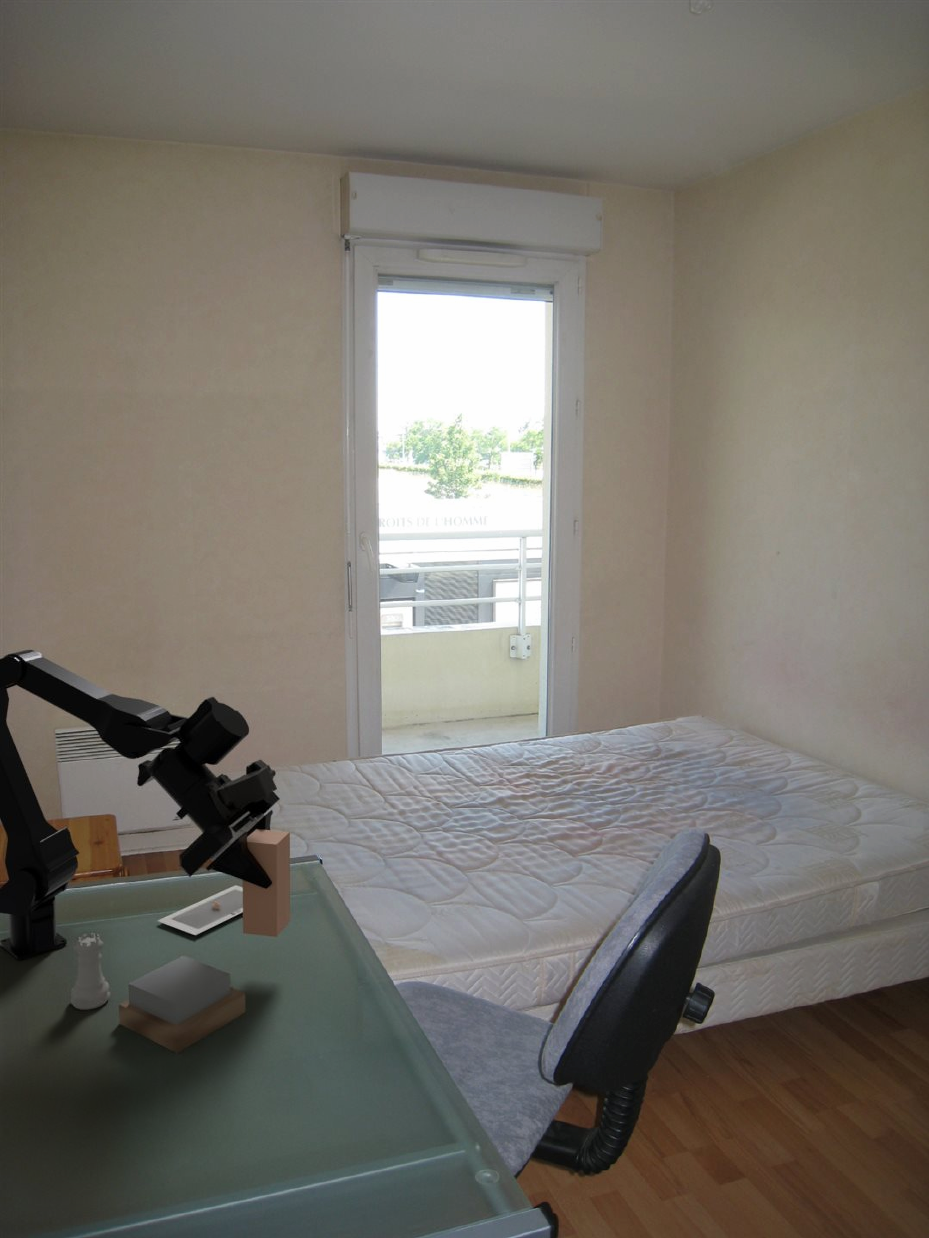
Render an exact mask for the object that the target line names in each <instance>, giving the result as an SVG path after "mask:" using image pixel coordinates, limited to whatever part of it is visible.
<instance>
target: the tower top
mask: <svg viewBox="0 0 929 1238" xmlns="http://www.w3.org/2000/svg"><path fill="white" fill-rule="evenodd" d="M230 987H231V973H229V972H225V971H223V970H222V969H219V968H216V967H213V966H211V965H208V964H205V963H203V962H200V961H197V960H195V959H193V958H191V957H189V956H186V955H181V956H180V957H177V958H176V959H174V960H172V961H170V962H168V963H166V964H164V965H162V966H160V967H157V968H156V969H154V970H152V971H150V972H148V973H146V974H144V975H142V976H140V977H139V978H137V979H134V980H132V981H130V982H129V983H128V987H127V988H128V999H129V1004H130V1005H132V1006H134V1007H137V1008H139V1009H141V1010H143V1011H145V1012H148V1013H150V1014H152V1015H154V1016H156V1017H159V1018H161V1019H163V1020H165V1021H167V1022H169V1023H172V1024H174V1025H176V1026H177V1025H179V1024H180V1023H182V1022H184V1021H185V1020H187V1019H189V1018H191V1017H192V1016H194V1015H196V1014H197V1013H199V1012H201V1011H203V1010H204V1009H206V1008H208V1007H209V1006H211V1005H213V1004H215V1003H216V1002H218V1001H220V1000H221V999H223V998H225V997H226V996H228V995H230Z"/></svg>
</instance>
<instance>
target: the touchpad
mask: <svg viewBox="0 0 929 1238" xmlns="http://www.w3.org/2000/svg"><path fill="white" fill-rule="evenodd" d="M240 914H243V886H239V885H233V886H231V887H229V888H226V889H224V890H222V891H220V892H218V893H215V894H213V895H211V896H209V897H206V898H205V899H202V900H200V901H198V902H196V903H193V904H191V905H189V906H187V907H185V908H182V909H180V910H177V911H175V912H174V913H171V914H169V915H167V916H165V917H162V918H160V919H158V920H157V922H159V923H161V924H164V925H167V926H169V927H172V928H175V929H177V930H180V931H183V932H185V933H187V934H191V935H194V936H197V935H199V934H201V933H203V932H205V931H207V930H210V929H211V928H213V927H215V926H218V925H219V924H221V923H224V922H225V921H228V920H230V919H231V918H234V917H236V916H237V915H240Z"/></svg>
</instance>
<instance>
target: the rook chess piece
mask: <svg viewBox="0 0 929 1238" xmlns="http://www.w3.org/2000/svg"><path fill="white" fill-rule="evenodd" d="M89 935H90V936H89V937H88V934H86V933H85V934H83V935H82V936H81V937H80V936H78V938H77V939H76V940H77V941H76V944H74V947H73V950H74V951H75V952H76V953H77V955H78V957H77V958H76V962H77V964H78V970H77V976H76V981H75V982H74V986H72V989H71V991H70V996H71V998H70V1004H71V1005H72V1006H73V1007H74V1008H75V1009H77V1010H80V1011H85V1010H86V1011H90V1010H95V1009H98V1008H100V1007H101V1006H104V1005H105V1004H106V1002H108V1000H109V999H110V997H111V992H110V991H109V990H110V984H109V982H107V981H106V977H105V976H104V974H103V971H102V966H101V959H102V954H101V952H100V950H101V949H102V948H103V946H104V942H103V941H102V940H101V938H100V937H101V936H100V934H99V933H98V934H95V933H90V934H89Z"/></svg>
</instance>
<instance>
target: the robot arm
mask: <svg viewBox="0 0 929 1238" xmlns="http://www.w3.org/2000/svg"><path fill="white" fill-rule="evenodd" d="M15 686H17V687H20V688H21V689H23V690H24V691H26V692H27V693H28V692H29V693H30V694H32V695H34V696H36V697H37V698H40V699H42V700H44V701H45V702H47V703H49V704H51V705H52V706H55V707H57V708H59V709H60V710H62V711H64V712H66V713H68V714H70V715H72V716H74V717H75V718H77V719H79V720H81V721H83V722H84V723H86V724H88V725H89V726H90V727H92V728H93V729H94V730H95V731H96V732H97V734H98V736H99V738H100V739H101V741H102V742H104V743H105V744H106V745H107V746H108V747H109V748H111V749H113V750H114V751H115V752H117V753H118V754H119V755H120V756H122V757H123V758H126V759H129V760H136V759H139V758H143V757H145V756H147V755H149V754H151V753H153V752H155V751H157V750H160V749H161V748H163V749H162V750H161V751H160V752H159V753H158V754H157V755H156V756H154V758H153V759H152V760H149V759H147V760H145V761H142V762H140V763H139V764H138V765H137V768H138V776H137V781H136V785H137V786H138V787H142V786H144V785H146V784H148V783H149V782H151V781H153V780H155V781H156V782H157V784H158V785H159V786H160V787H161V788H162V789H163V790H164V792H166V794H167V795H168V796H169V797H170V798H171V799H172V800H173V801H174V803H175V804H177V806H178V807H179V808H180V809H179V810H177V812H176V813H175V814H176V815H177V816H178V818H179V819H181V820H182V819H184V818H185V817H188V818H189V819H190V821H191V822H193V823H194V824H195V826H196V827H197V828H198V829H199V830H200V831H201V832H202V833H201V834H200V835H199V836H198V837H197V838H196V839H195V840H194V841H193V842H192V843H190V845H188V846H187V848H186V849H185V850H183V851H182V852H181V853H180V854H179V857H178V858H179V859H178V861H179V862H178V864H179V865H178V866H179V867H180V868H181V870H182V871H183V872H184V873H185V874H186V875H187V876H188V877H189V878H191V877H192V876H194V874H196V873H197V872H198V871H199V870H201V869H202V868H203V866H204V865H205V864H206V863H207V862H208V861H209V860H211V862H210V863H209V864H208V866H206V867H205V870H206V871H208V872H209V871H210V870H211V871H215V872H218V873H221V874H223V875H228V876H231V877H234V878H237V879H239V880H241V881H243V880H244V881H247V882H249V883H252V884H254V885H257V886H260V887H262V888H265V889H267V888H268V887H269V886H270V885H271V884H272V881H271V879H270V878H269V876H268V875H267V873H266V872H265V870H264V869H263V868H262V866H261V865H260V864H259V862H258V861H257V860H256V859H255V857H254V856H253V855H252V853H251V852H250V851H249V849H248V846H247V837H248V836H249V835H250V834H251V833H253V832H254V831H255V830H256V829H261V830H271V822H272V821H271V820H272V815H273V814H274V811H273V809H271V808H272V807H273V806H274V805H275V804H277V802H279V801H280V799H281V798H280V797H279V796H278V795H277V794H276V792H275V791H277V790H278V787H277V786H276V783H275V780H274V777H275V776H276V775H277V774H276V773H277V772H276V771H275V769H271V767H270V764H266V763H265V761H263V760H262V759H257V760H256V761H253V762H251V763H250V764H248V765H246V769H245V774H243V775H241V776H240V777H238V778H235V779H231V778H230V777H229V776H228V775H227V774H224V773H221V774H219V775H218V776H216V775H215V773H214V772H212V770H211V769H210V768H209V767H208V766H207V765H210V766H215V765H219V764H220V763H221V762H222V761H223V760H224V759H225V758H226V757H227V756H228V755H229V754H230V753H231V752H232V751H233V750H234V749H235V748H236V747H237V746H238V745H239V744H240V743H241V742H242V741H243V740H244V739H246V737H247V736H248V735H249V733H250V727H249V724H248V722H247V720H246V719H245V717H244V716H243V715H242V713H240V711H238V710H235V709H234V708H233V707H231V706H230V705H228V704H225V703H224V702H223V703H222V702H219V701H218V700H217V699H216V697H214V696H210V697H208V698H206V699H204V700H203V701H202V702H201V703H200V704H199V705H198V707H197V708H196V710H195V711H194V712H193V713H192V714H191V715H190V716H189V717H186V716H182V715H176V714H172V713H170V711H169V710H168V709H166V708H165V707H164V706H161V705H158V704H155V703H152V702H148V701H146V700H143V699H140V698H132V697H128V696H127V697H125V696H121V695H118V694H114V693H112V692H110V691H108V690H106V689H104V688H103V687H102V686H101V687H100V686H98V685H97V684H95V683H93V682H92V681H89V680H87V679H85V678H83V677H82V676H80V675H77V674H76V673H74V672H72V671H70V670H68V669H66V668H64V667H62V666H61V665H59V664H57V663H55V662H53V661H52V660H50V659H47V658H46V657H44V656H43V654H42V653H40V652H39V651H37V650H33V649H25V650H21V651H16V652H12V653H8V654H6V655H4V656H3V657H1V658H0V822H1V824H2V827H3V830H4V832H5V834H6V835H5V836H6V838H7V839H6V849H5V857H4V866H5V870H6V876H7V878H8V880H7V881H6V882H5V883H4V884H3V885H2V886H1V887H0V914H5V915H8V923H9V925H8V931H9V937H6V938H4V939H2V940H0V946H1V947H2V948H3V949H4V950H6V951H7V952H8V953H9V954H10V955H12V956H13V957H14V959H16V960H19V961H21V960H24V959H27V958H30V957H33V956H36V955H39V954H42V953H46V952H48V951H51V950H54V949H56V948H60V947H63V946H66V945H67V944H68V940H67V938H66V937H63V935H61V934H59V933H58V932H57V911H56V909H57V908H56V896H58V895H59V894H61V893H63V892H65V891H66V890H67V889H68V888H67V887H68V885H69V883H70V881H71V880H72V879H73V878H74V877H75V875H76V872H77V869H78V867H79V862H78V857H77V856H78V855H80V851H79V850H78V849H77V848H76V847H75V845H74V843H73V840H72V835H71V832H70V830H69V829H68V828H67V827H63V828H62V829H60V830H58V829H56V828H55V827H54V825H53V826H52V825H51V823H49V822H48V821H47V820H46V818H45V815H44V813H43V810H42V808H41V806H40V803H39V800H38V798H37V795H36V793H35V789H34V788H33V786H32V785H33V784H32V783H31V781H30V778H29V776H28V772H27V771H26V767H25V766H24V764H23V760H22V759H21V755H20V753H19V750H18V748H17V746H16V743H15V741H14V738H13V736H12V734H11V731H10V729H9V726H8V723H7V719H8V710H9V703H10V697H9V693H8V689H10V688H13V687H15ZM176 741H179V743H178V744H177V745H176V746H175V747H167V748H164V747H165V746H168V745H170V744H171V743H174V742H176ZM270 809H271V810H270ZM269 810H270V811H269Z"/></svg>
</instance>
